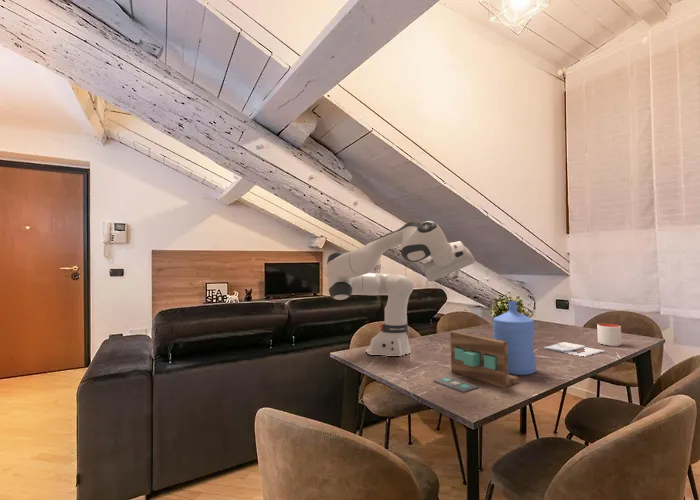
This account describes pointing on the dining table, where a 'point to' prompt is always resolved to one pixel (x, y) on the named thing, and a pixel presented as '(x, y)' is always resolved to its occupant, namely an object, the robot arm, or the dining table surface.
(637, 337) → the dining table surface
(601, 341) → the cup
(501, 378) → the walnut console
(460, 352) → the button far
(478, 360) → the button middle
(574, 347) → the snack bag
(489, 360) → the button near
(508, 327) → the water jug
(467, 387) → the card
